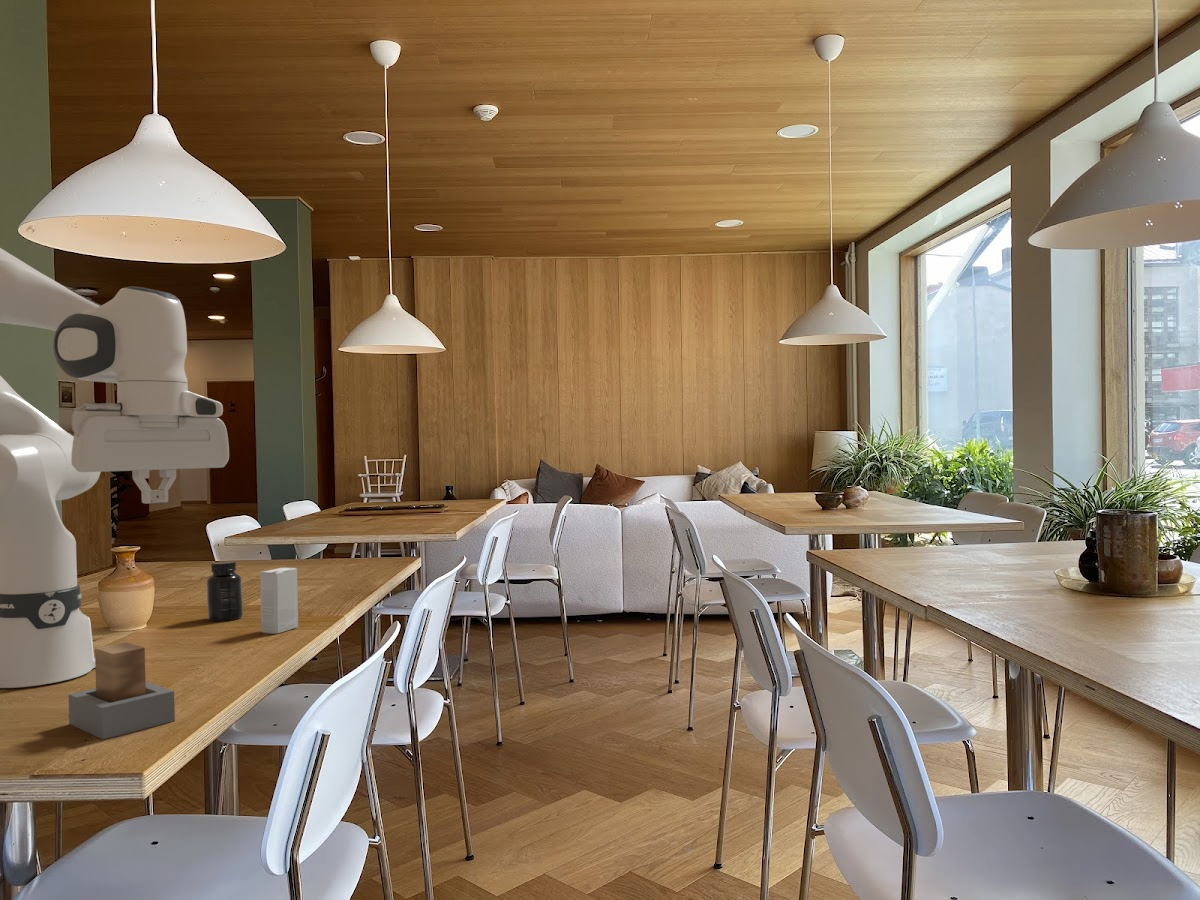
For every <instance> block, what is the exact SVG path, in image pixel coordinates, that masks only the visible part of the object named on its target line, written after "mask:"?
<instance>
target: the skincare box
mask: <svg viewBox="0 0 1200 900" xmlns="http://www.w3.org/2000/svg"><path fill="white" fill-rule="evenodd" d="M259 573H260V578H259V579H260V580H259V581H260V586H259V587H260V624H261V625H260V627H261V633H263V634H272V635H274V634H275V635H277V634H281V633H284V632H287V631H290V630H293V629H297V628H298V627H299V611H298V610H299V607H298V606H299V604H298V603H299V602H298V597H299V596H298V568H296V567H278V568H274V569H269V570H265V571H260V572H259Z"/></svg>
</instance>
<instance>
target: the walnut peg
mask: <svg viewBox="0 0 1200 900" xmlns="http://www.w3.org/2000/svg"><path fill="white" fill-rule="evenodd" d="M94 657H95V688H96V698H98V699H101V700H103V701H106V702H109V703H112V702H116V701H121V700H125V699H129V698H134V697H138V696H142V695H146V682H147V681H146V658H145V657H146V649H145V647H143V646H140V645H136V644H134V643H130V642H129V643H128V642H123V643H116V644H112V645H106V646H100V647H95V648H94Z"/></svg>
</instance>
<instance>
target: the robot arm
mask: <svg viewBox="0 0 1200 900" xmlns="http://www.w3.org/2000/svg"><path fill="white" fill-rule="evenodd" d="M186 323H187V322H186V317H185V311H184V307H183V304H182V303H181V301H180V298H178V297H177V296H176V295H174V294H172V293H170V292H166V291H161V290H157V289H151V288H147V287H141V286H134V285H133V286H132V285H131V286H124V287H123V288H120V289H119V290H118V291H117V293H116V294H115V296H114V297H113V298H112V299H111V300H109V301H107V302H106V303H104V304H100V303H97V302H95V301H93V300H91V299H89V298H87V297H85V296H83V295H81V294H79V293H77V292H76V291H73V290H71V289H69V288H68V287H66V286H64V285H63V284H61V283H59V282H58V281H56V280H55V279H52V278H51V277H49V276H47V275H46V274H44V273H42V272H41V271H39V270H37V269H36V268H35V267H32V266H31V265H29V264H28V263H26V262H24V261H23V260H21V259H19V258H18V257H16V256H14V255H13V254H11V253H9V252H8V251H6V250H5V249H3V248H2V247H0V324H7V325H15V326H23V327H24V326H25V327H31V328H39V329H44V330H45V329H46V330H49V331H54V332H55V333H54V337H53V340H52V341H53V345H52V349H53V354H54V359H55V361H56V362H57V365H58V366H59V368H60V369H61V371H63V373H65V374H66V375H67V376H69V377H71V378H74V379H77V380H82V381H85V382H86V381H87V382H96V383H97V382H98V383H107V384H116V391H117V392H116V395H117V396H116V397H117V402H105V403H104V402H102V403H96V402H84V403H83V404H82V405H80V406H77V407H76V408H75V409H73V412H72V414H71V429H72V432H73V434H71V433H70V432H68V431H66V430H65V429H63V427H61V426H59V424H57V423H56V422H54V421H53V420H52V419H50V417H48V416H47V415H46V414H44V413H42V411H40V410H38V409H37V408H36V407H35V406H33V405H32V404H31V403H29V402H28V401H27V400H26V399H25V398H23V397H22V396H21V395H20V394H18V392H16V391H15V389H14V388H12V386H11V385H10V384H9V383H8V382H7V381H6V380H5V379H4V378H3V377H2V375H0V689H15V688H16V689H17V688H25V687H26V688H27V687H34V686H35V687H36V686H42V685H47V684H53V683H59V682H63V681H67V680H72V679H75V678H78V677H81V676H83V675H86V674H88V673H90V672H91V670H93V669H94V668H95V651H94V645H93V643H94V642H93V635H92V624H91V619H90V617H89V616H87V615H86V614H84V613H83V612H82V611H81V610H80V608H81V606H82V592H81V585H79V584H78V569H77V568H78V567H77V566H78V565H77V541H76V538H75V535H73V534H72V532H70V531H69V530H68V529H67V527H66V526H65V525H64V522H63V521H62V519H61V517H60V513H59V510H58V506H57V503H56V501H66V500H69V499H72V498H74V497H76V496H79V495H81V494H83V493H84V492H86V491H89V490H90V489H91V488H93V486H94V485H95V484H97V482H98V480H99V479H100V476H101V473H102V472H103V473H104V472H106V473H107V472H130V471H131V472H132V473H131V474H132V480H133V482H134V483H135V484H136V486H137V487H138V489H139V491H141V503H142V504H158V503H168V502H169V490H170V489H171V487H172V485H173V483H174V482H175V480H176V479H177V470H186V469H187V470H188V469H191V470H192V469H219V468H224V467H226V465H227V464H228V462H229V459H230V445H229V437H228V431H227V430H228V429H227V427H226V426H227V425H225V423H224V421H223V420H222V419H220V418H219V417H221V416H223V412H224V406H223V404H222V403H221V402H220V401H218V400H214V399H212V398H210V397H209V398H208V397H206V396H202V395H201V394H198V393H194V392H191V391H189V388H188V386H189V385H188V383H189V382H188V377H187V374H186V371H185V361H186V359H187V354H188V338H187V337H188V335H187V333H188V332H187V324H186ZM157 470H159V477H160V478H163V479H162V480H161V483H160V484H159V486H158V488H157V489H152V488H151V486H150V485H149V483H148V482H147V480H146V479H150V471H157Z"/></svg>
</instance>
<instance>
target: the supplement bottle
mask: <svg viewBox="0 0 1200 900" xmlns="http://www.w3.org/2000/svg"><path fill="white" fill-rule="evenodd" d="M236 564H237V562H236V561H235V560H234V561H233V560H229V561H228V560H225V561H216V562H211V565H210V566H211V567H210V568H211V570H210V572H211V573H212V575H210V576H209V577H208V578H207V580H206V596H207V597H206V598H207V599H206V600H207V619H208V620H209V621H211V622H226V621H229V622H230V621H233V620H234V621H235V620H239V619H241V618H242V617H243V608H244V607H243V589H242V588H243V586H242V585H243V583H242V577H241V575H240V574H238V573H236V571H237V565H236Z"/></svg>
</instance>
